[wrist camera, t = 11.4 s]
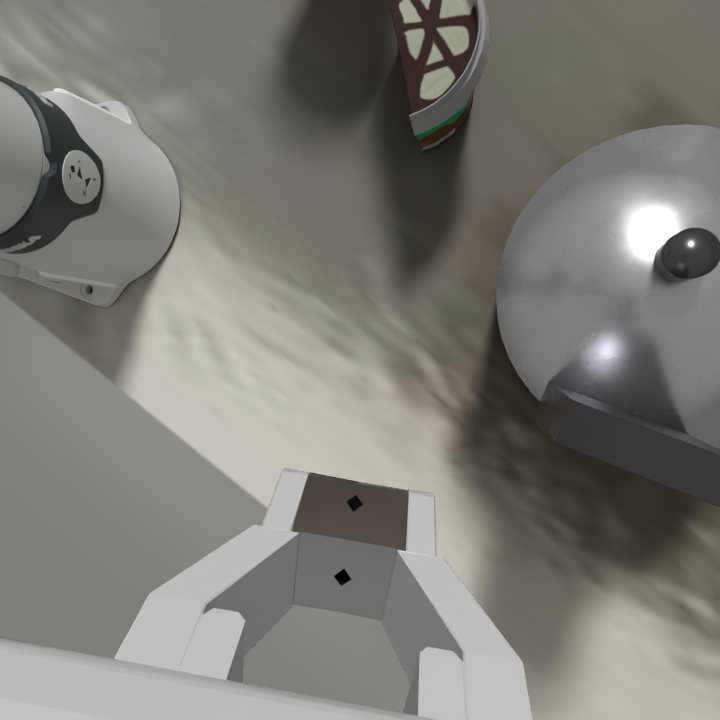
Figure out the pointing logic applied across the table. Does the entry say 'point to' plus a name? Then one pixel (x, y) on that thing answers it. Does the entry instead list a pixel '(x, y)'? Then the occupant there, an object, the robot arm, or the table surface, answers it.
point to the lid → (624, 305)
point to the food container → (440, 62)
